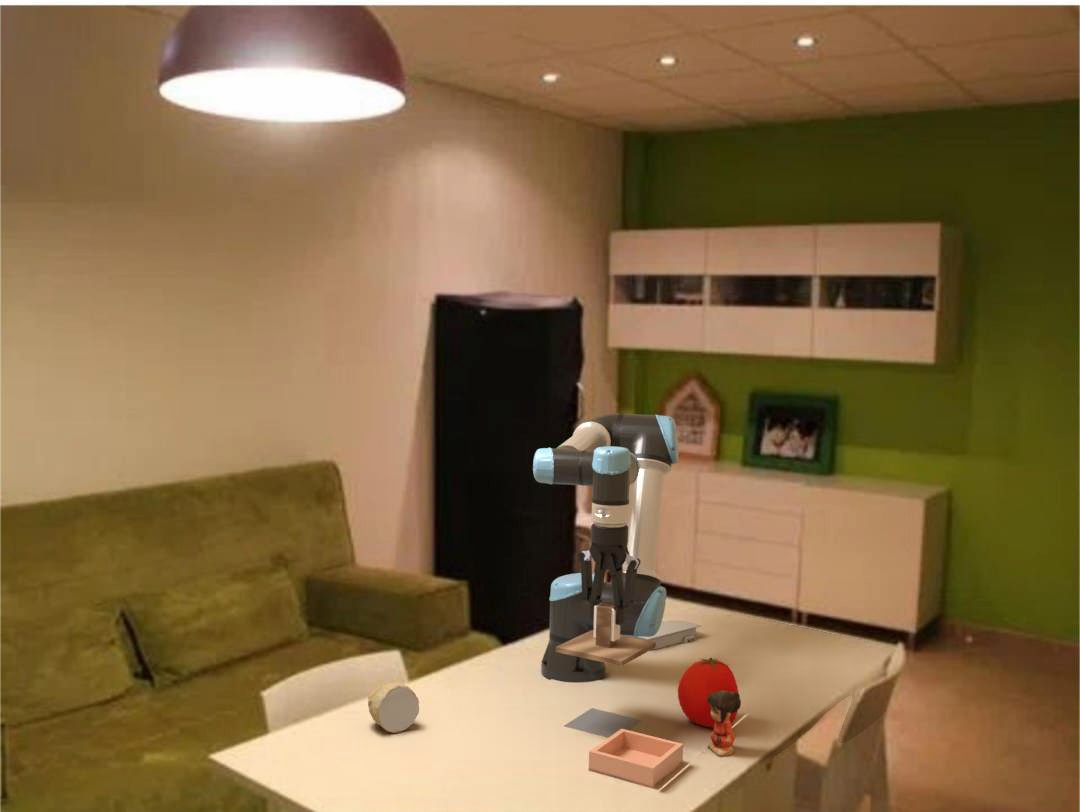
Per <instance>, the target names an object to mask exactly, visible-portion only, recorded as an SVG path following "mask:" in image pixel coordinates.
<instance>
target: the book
mask: <svg viewBox="0 0 1080 812" xmlns="http://www.w3.org/2000/svg"><path fill="white" fill-rule="evenodd" d="M702 626H703V625H702V624H698V623H696V622H690V621H684V620H677V619H676V620H674V619H673V620H671V619H670V620H664V621H663V620H662V622H661V625H660V628H659V630H658V632H657V633H656V634H655V635H654V636H651V637H644V636H638V637H635V636H631V635H621V636H626V637H631V638H636V639H641V640H646V641H651V642H656V647H655V648H653V649H652V650H651V651H653V650H657V649H661V648H664V647H668V646H671V645H675V644H679V643H685V644H688V641H689V642H690V643H692V640H693V642H695V637H696V636H695V634H697V628H699V627H702Z"/></svg>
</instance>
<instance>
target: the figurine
mask: <svg viewBox="0 0 1080 812" xmlns="http://www.w3.org/2000/svg"><path fill="white" fill-rule="evenodd" d="M707 701H708V704H709V706H710V707H711V717H712V718H713V719H714V720H715V724H714V728H713V731H712V732H711V734H710V741H711V742H710V743H708V748H709V749H710V751H712V752H713V754H715V756H718V757H729V756H730V755H733V754H734V753H735V750H734V747H733V745H734V743H735V737H736V735H735V732H734V731H733V723H732V724H731V722H730V719H729V717H730V714H732V713H734V712H736V711H737V710H739V709H740V708H741V704H742V700H741V698H740V693H739V692H738V693H734V692H732V691H731V692H727V691H724V690H723V691H719V692H716V693H712V694H710V695H709V697H708V698H707ZM712 752H711V753H712Z"/></svg>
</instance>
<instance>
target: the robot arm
mask: <svg viewBox="0 0 1080 812" xmlns="http://www.w3.org/2000/svg"><path fill="white" fill-rule="evenodd" d="M678 440H679V439H678V431H677V424H676V421H675V420H674V418H672V417H671V416H669V415H659V414H641V413H640V414H638V413H637V414H633V413H616V412H615V413H607V414H601V415H600V416H596V417H593V418H590V419H588V420H585V421H584V422H582V423H581V424H579V425H578V426H577V427H576V428H575V429H574V432H573V433H572V436H571V437H569V438H568V439H567V440H565V441H564V442H563V443H561V444H560V445H558V446H557V447H555V448H554V447H553V448H551V447H547V448H546V447H543V448H538V449H536V451H535V452H534V456H533V461H532V462H533V464H532V471H533V472H532V473H533V477H534V479H535V481H536V482H538V483H540V484H549V485H569V486H570V485H571V486H583V487H584V486H586V487H592V488H591V490H592V491H591V492H592V493H591V494H592V496H591V497H592V499H591V522H592V524H591V525H590V526H591V527H590V542H591V544H590V546H589V549H588V550H583V551H581V552H578V554H577V557H578V560H579V563H580V572H576V573H570V574H565V575H562V576H558V577H557V578H555V579H554V580H553V581H552V582H551V584H550V595H549V598H548V599H549V600H548V601H549V633H548V634H549V637H548V638H549V639H548V642H547V646H546V647H545V651H544V654H543V656H542V659H541V664H540V665H541V668H540V669H541V671H540V673H541V675H542V676H543V677H544V678H546V679H549V680H553V681H559V682H563V683H578V684H579V683H589V682H593V681H599V680H601V679H603V677H604V678H605V675H606V663H605V662H600V661H595V660H591V659H586V658H582V657H577V656H572V655H568V654H563V653H558V652H556V647H557V646H559V645H561V644H563V643H565V642H567V641H570V640H572V639H574V638H576V637H578V636H580V635H582V634H584V633H587V632H589V631H591V630H594V632H593V637H594V638H596V612H597V606H599V605H601V604H603V603H606V604H612V605H615V607H613V609H611V635H610V641H615V640H617V639H619V638H620V635H631V636H635V637H638V636H644V637H651V636H654V635H655V634H656V633H657V632H658V630H659V628H660V625H661V622H663V617H664V614H665V609H666V600H667V589H666V587H663V586H662V585H661V580H662V579H661V578H660V577H659V575H658V574H657V573H656V564H657V554H658V544H659V536H660V535H659V531H660V524H661V523H660V522H661V521H660V520H661V511H662V501H663V491H664V490H663V489H664V478H665V476H667V475H668V474H669V473H670V472H671V470H672V465H676V464H677V463H679V441H678ZM592 560H593V561H594V569H593V566H592V565H593V563H592ZM607 571H608V572H609V575H610V582H605V577H606V572H607ZM593 572H594V573H593Z"/></svg>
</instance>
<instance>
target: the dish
mask: <svg viewBox="0 0 1080 812" xmlns="http://www.w3.org/2000/svg"><path fill="white" fill-rule="evenodd" d="M683 758H684V744H683V743H681V742H676V741H673V740H668V739H665V738H661V737H657V736H652V735H649V734H645V733H641V732H636V731H633V730H625V729H620V730H619V731H617V732H616V733H615V734H613V735H612V736H610V737H609V738H607V737H606V739H604V740H603V741H601V743H599V744H597V745H596V746H595V747H593V748H592V749H590V750H589V751H588V771H589V772H593V773H596V774H600V775H604V776H608V777H611V778H614V779H619V780H621V781H625V782H628V783H632V784H635V785H640V786H643V787H645V788H649V789H654V788H655V787H656V786H657V785H659V784H660V783H661V782H662V781H663V780H664V779H665V778H667V777H668V776H669V775H670V774H671V773H673V771H675V770H676V769H677V768H678V767H680V766H681V765H682V764H683V760H684V759H683Z"/></svg>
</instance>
